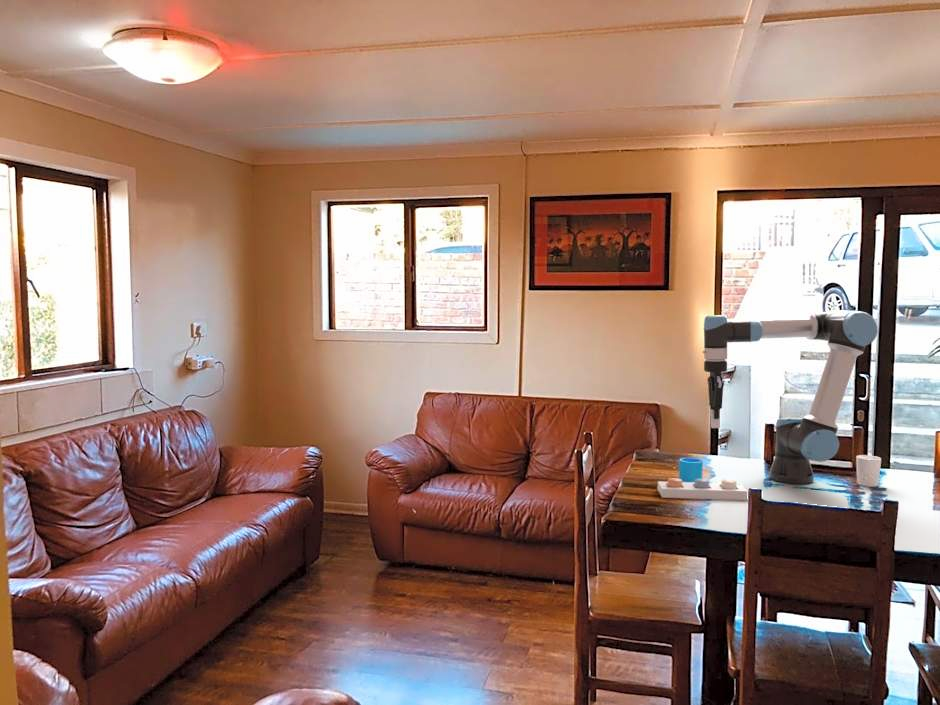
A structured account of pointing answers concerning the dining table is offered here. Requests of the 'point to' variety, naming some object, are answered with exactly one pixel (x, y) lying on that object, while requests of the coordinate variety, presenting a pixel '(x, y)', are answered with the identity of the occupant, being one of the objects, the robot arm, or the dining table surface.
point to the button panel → (702, 491)
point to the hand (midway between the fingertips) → (715, 427)
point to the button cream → (728, 484)
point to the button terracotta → (675, 482)
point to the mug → (690, 469)
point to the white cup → (868, 470)
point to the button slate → (701, 483)
